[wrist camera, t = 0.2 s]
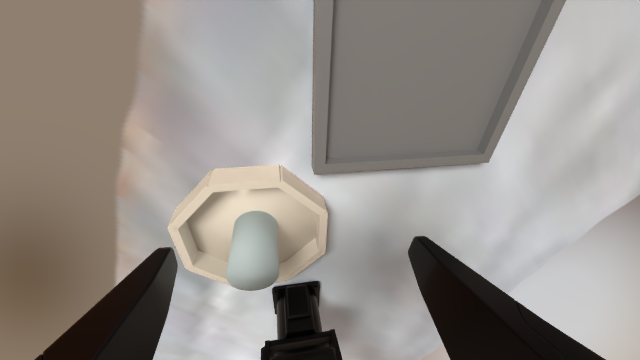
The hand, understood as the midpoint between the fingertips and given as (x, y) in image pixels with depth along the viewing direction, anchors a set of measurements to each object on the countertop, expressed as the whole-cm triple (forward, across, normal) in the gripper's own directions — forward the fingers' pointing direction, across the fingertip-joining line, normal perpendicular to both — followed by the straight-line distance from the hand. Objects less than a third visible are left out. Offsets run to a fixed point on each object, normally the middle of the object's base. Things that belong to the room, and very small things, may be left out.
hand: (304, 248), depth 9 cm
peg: (+14, +3, +12) cm, 19 cm away
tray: (+14, -11, -5) cm, 19 cm away
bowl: (+14, +3, +12) cm, 19 cm away
